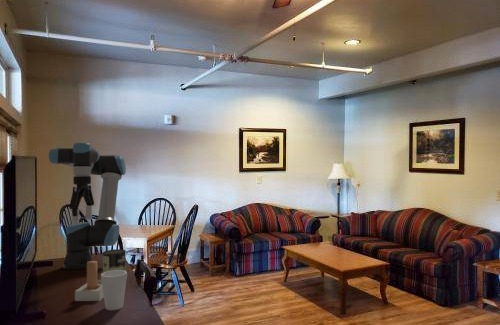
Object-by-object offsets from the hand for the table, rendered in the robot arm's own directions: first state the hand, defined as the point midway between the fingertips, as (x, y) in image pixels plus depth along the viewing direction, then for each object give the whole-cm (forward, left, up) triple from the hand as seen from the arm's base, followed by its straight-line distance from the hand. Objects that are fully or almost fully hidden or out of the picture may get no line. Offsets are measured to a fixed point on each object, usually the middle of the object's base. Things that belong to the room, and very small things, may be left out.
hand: (82, 221), depth 178 cm
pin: (+20, +12, -28) cm, 36 cm away
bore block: (+16, +12, -29) cm, 35 cm away
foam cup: (+31, +26, -29) cm, 50 cm away
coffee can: (-2, +14, -29) cm, 32 cm away
